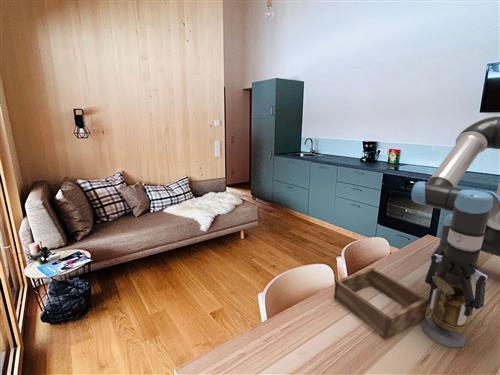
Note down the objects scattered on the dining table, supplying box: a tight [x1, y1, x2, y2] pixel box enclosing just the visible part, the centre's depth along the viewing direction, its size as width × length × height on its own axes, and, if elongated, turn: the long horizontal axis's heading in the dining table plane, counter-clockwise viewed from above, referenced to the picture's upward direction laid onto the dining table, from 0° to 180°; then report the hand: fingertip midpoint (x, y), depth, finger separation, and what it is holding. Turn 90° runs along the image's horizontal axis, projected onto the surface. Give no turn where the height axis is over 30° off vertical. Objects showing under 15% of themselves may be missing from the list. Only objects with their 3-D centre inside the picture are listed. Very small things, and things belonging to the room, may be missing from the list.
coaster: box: [421, 317, 466, 349], centre depth 83 cm, size 11×11×1 cm
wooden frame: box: [333, 267, 429, 341], centre depth 93 cm, size 19×21×7 cm
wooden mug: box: [430, 275, 468, 333], centre depth 80 cm, size 9×14×18 cm, turn 110°
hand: (446, 314), depth 81 cm, fingers closed on wooden mug, 7 cm apart
